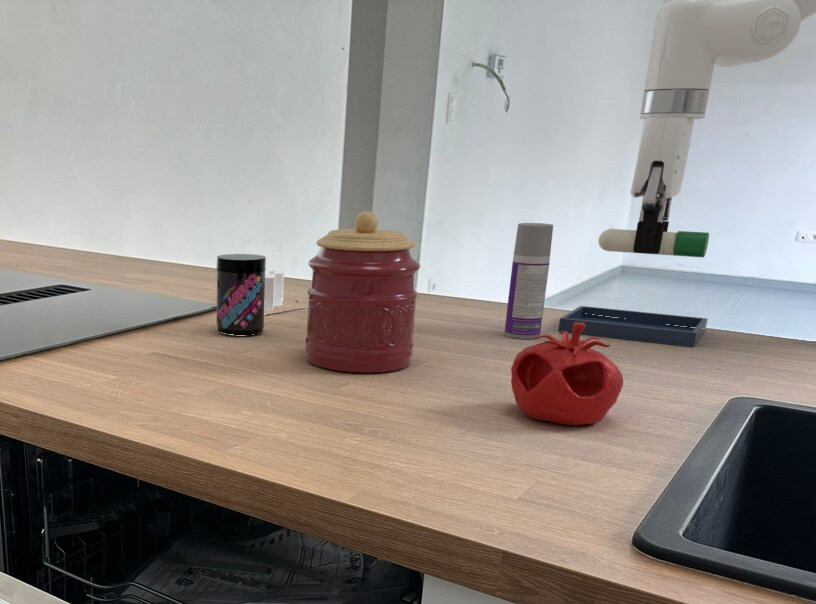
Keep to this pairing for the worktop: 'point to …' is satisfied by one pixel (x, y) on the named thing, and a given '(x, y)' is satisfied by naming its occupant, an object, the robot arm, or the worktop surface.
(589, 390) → the red hollow tomato
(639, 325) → the pen tray
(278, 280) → the napkin holder
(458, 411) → the worktop surface
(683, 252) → the marker
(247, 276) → the supplement container
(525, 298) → the container
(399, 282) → the kitchen canister
